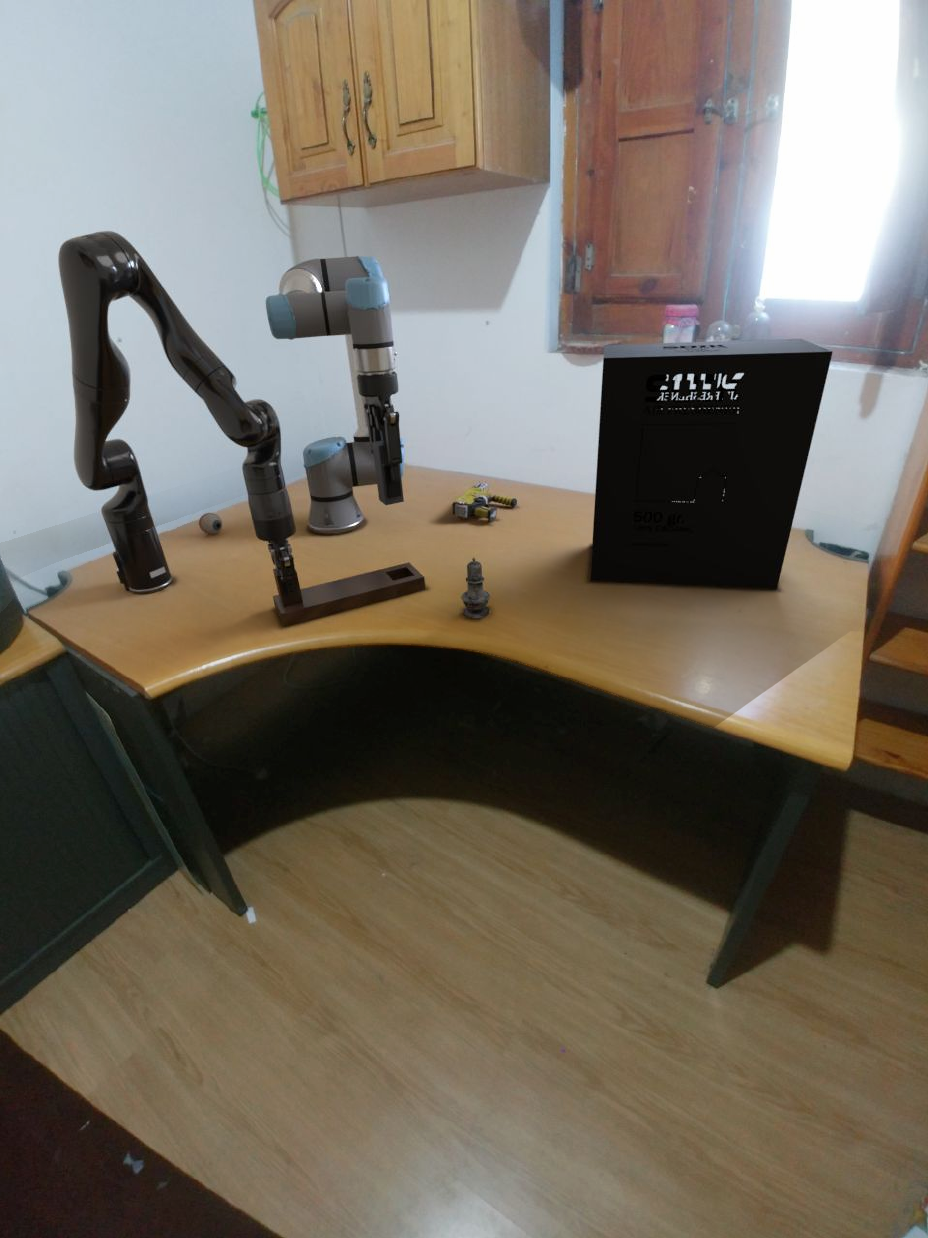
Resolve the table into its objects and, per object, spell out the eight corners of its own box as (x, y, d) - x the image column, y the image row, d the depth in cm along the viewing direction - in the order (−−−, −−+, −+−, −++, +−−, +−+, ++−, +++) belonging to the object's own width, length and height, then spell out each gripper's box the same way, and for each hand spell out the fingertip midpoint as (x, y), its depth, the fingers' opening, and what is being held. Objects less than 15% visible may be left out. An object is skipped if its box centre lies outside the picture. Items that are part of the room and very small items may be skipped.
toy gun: (525, 486, 181) (478, 479, 184) (503, 510, 160) (450, 501, 164) (523, 501, 183) (477, 494, 187) (501, 526, 163) (450, 518, 167)
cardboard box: (756, 549, 141) (800, 338, 118) (776, 589, 124) (832, 351, 101) (592, 544, 148) (604, 344, 126) (590, 580, 131) (603, 357, 109)
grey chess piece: (488, 619, 119) (486, 564, 113) (459, 618, 120) (455, 563, 114) (493, 605, 124) (491, 551, 118) (465, 604, 125) (462, 550, 119)
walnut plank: (284, 626, 121) (273, 582, 116) (275, 608, 128) (265, 565, 123) (425, 589, 132) (421, 547, 127) (410, 573, 140) (405, 533, 135)
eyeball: (212, 539, 164) (206, 518, 161) (197, 535, 167) (191, 515, 164) (230, 531, 169) (224, 511, 166) (215, 528, 172) (210, 508, 169)
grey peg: (385, 505, 122) (378, 445, 116) (379, 500, 126) (371, 441, 120) (404, 501, 124) (397, 442, 118) (397, 496, 127) (390, 438, 121)
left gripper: (299, 518, 110) (316, 601, 119) (283, 497, 122) (299, 574, 130) (258, 527, 108) (277, 610, 116) (245, 505, 119) (264, 582, 128)
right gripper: (412, 374, 107) (423, 501, 119) (380, 365, 120) (393, 480, 132) (372, 379, 104) (387, 508, 116) (343, 369, 118) (360, 486, 129)
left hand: (289, 591), depth 123 cm, fingers closed on walnut plank, 4 cm apart
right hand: (390, 493), depth 124 cm, fingers closed on grey peg, 4 cm apart
